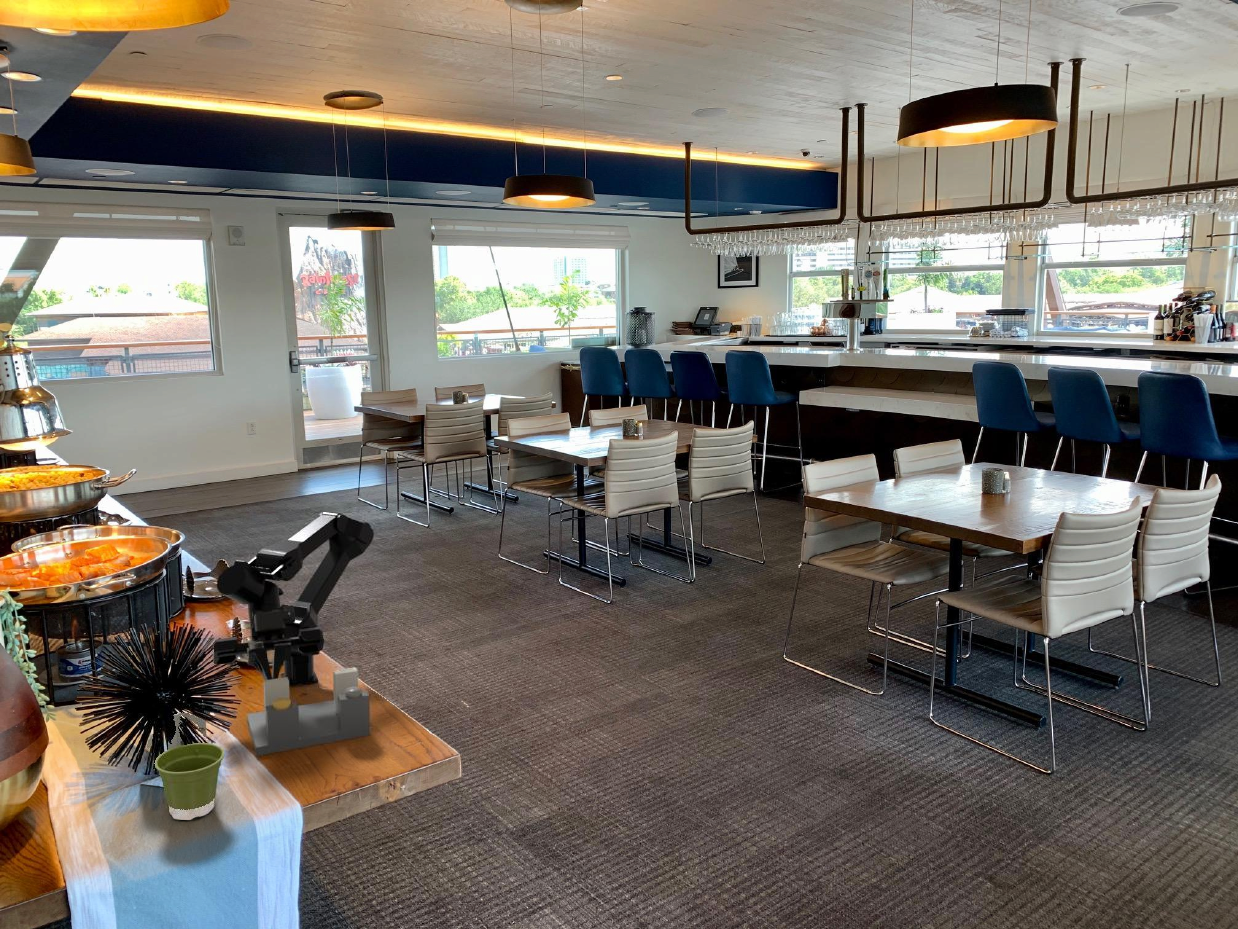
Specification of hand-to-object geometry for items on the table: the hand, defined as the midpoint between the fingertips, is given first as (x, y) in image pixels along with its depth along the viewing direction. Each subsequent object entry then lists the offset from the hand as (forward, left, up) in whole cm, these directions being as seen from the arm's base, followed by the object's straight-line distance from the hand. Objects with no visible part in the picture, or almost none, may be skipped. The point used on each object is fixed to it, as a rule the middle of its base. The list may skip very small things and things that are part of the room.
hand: (273, 689), depth 164 cm
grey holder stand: (+3, +5, -7) cm, 9 cm away
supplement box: (+12, -17, -7) cm, 22 cm away
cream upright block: (+2, +12, -5) cm, 14 cm away
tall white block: (+2, 0, -5) cm, 6 cm away
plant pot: (+24, -15, -7) cm, 29 cm away
